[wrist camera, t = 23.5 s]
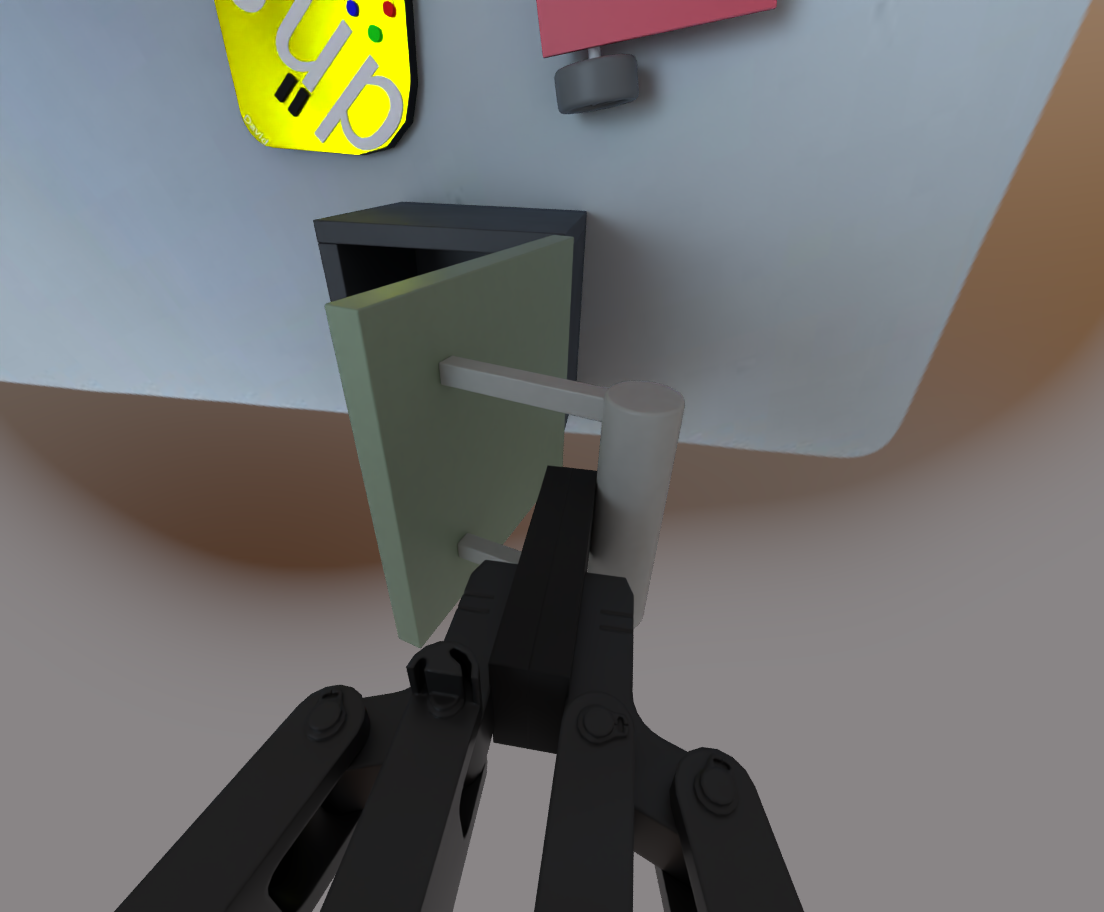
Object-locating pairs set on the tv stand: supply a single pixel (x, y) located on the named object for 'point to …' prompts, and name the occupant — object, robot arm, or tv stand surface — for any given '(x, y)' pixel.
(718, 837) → the robot arm
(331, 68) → the game console
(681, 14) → the toy car
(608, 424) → the box lid
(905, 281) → the tv stand surface
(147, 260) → the tv stand surface
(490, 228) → the black box
